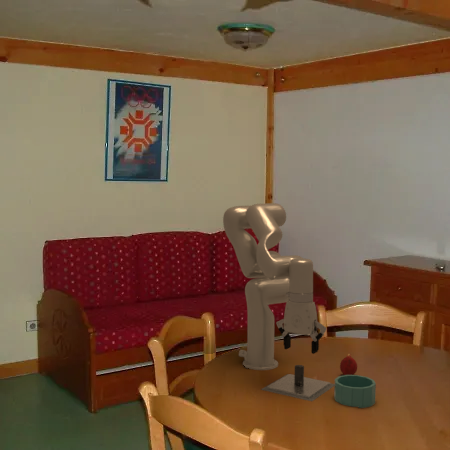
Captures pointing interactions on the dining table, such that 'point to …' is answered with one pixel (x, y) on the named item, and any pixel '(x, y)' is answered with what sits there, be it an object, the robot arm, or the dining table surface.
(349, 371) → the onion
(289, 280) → the robot arm
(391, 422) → the dining table surface
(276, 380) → the mat
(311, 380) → the lid
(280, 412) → the dining table surface
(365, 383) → the bowl
